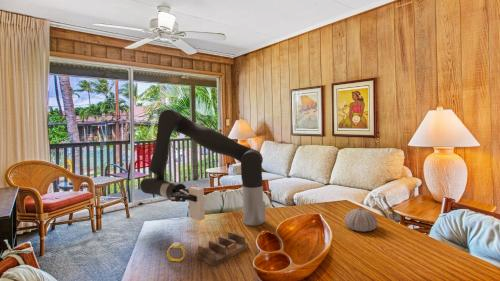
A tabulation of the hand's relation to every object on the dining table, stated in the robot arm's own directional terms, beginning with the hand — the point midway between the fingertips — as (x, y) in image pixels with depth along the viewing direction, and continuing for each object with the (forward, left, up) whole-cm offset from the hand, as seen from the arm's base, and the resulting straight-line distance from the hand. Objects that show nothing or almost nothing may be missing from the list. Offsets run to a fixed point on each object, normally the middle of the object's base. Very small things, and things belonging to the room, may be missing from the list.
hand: (199, 198), depth 105 cm
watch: (+11, +9, -18) cm, 23 cm away
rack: (-5, +11, -18) cm, 21 cm away
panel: (+1, -2, -8) cm, 8 cm away
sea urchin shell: (-65, +18, -18) cm, 70 cm away
